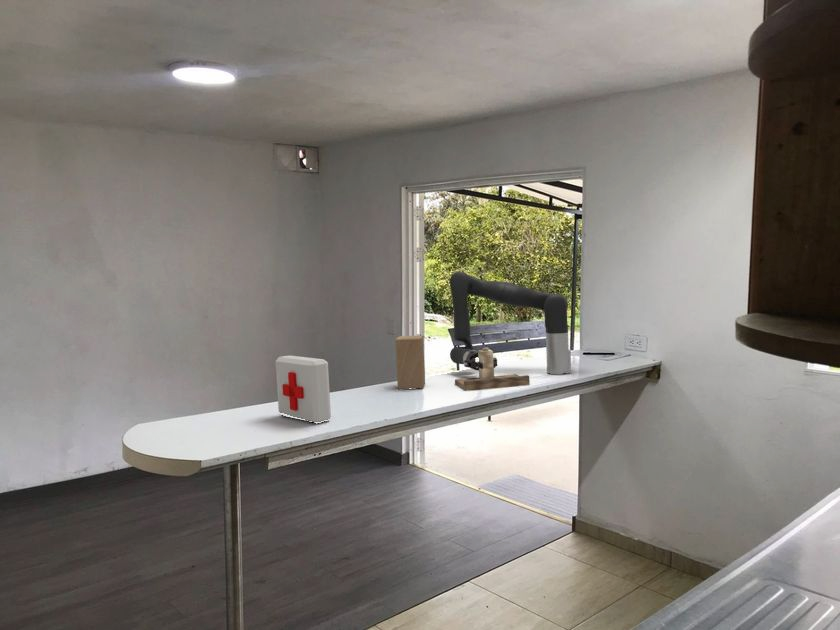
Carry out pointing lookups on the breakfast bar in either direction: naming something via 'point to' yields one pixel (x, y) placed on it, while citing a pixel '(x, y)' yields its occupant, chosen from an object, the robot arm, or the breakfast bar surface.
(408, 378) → the wooden block
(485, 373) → the mottled beige cylinder
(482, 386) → the board
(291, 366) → the bevelled white case
